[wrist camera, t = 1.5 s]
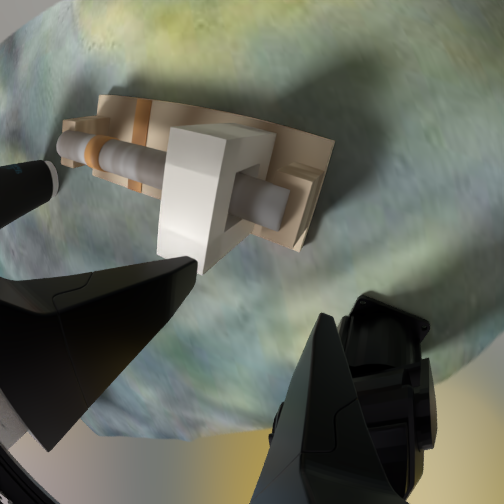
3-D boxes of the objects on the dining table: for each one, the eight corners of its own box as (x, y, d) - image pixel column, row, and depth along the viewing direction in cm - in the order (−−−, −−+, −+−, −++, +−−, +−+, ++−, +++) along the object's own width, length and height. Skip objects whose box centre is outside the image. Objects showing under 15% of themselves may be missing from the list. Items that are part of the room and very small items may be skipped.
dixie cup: (47, 216, 34) (-18, 247, 25) (30, 164, 32) (-36, 187, 23) (72, 196, 30) (-7, 229, 21) (53, 137, 28) (-27, 158, 19)
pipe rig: (335, 141, 19) (318, 146, 13) (302, 246, 22) (275, 289, 17) (106, 94, 24) (52, 98, 18) (99, 172, 27) (50, 189, 22)
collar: (276, 133, 18) (226, 139, 12) (253, 230, 22) (202, 275, 16) (234, 122, 19) (170, 126, 13) (216, 216, 22) (156, 254, 16)
